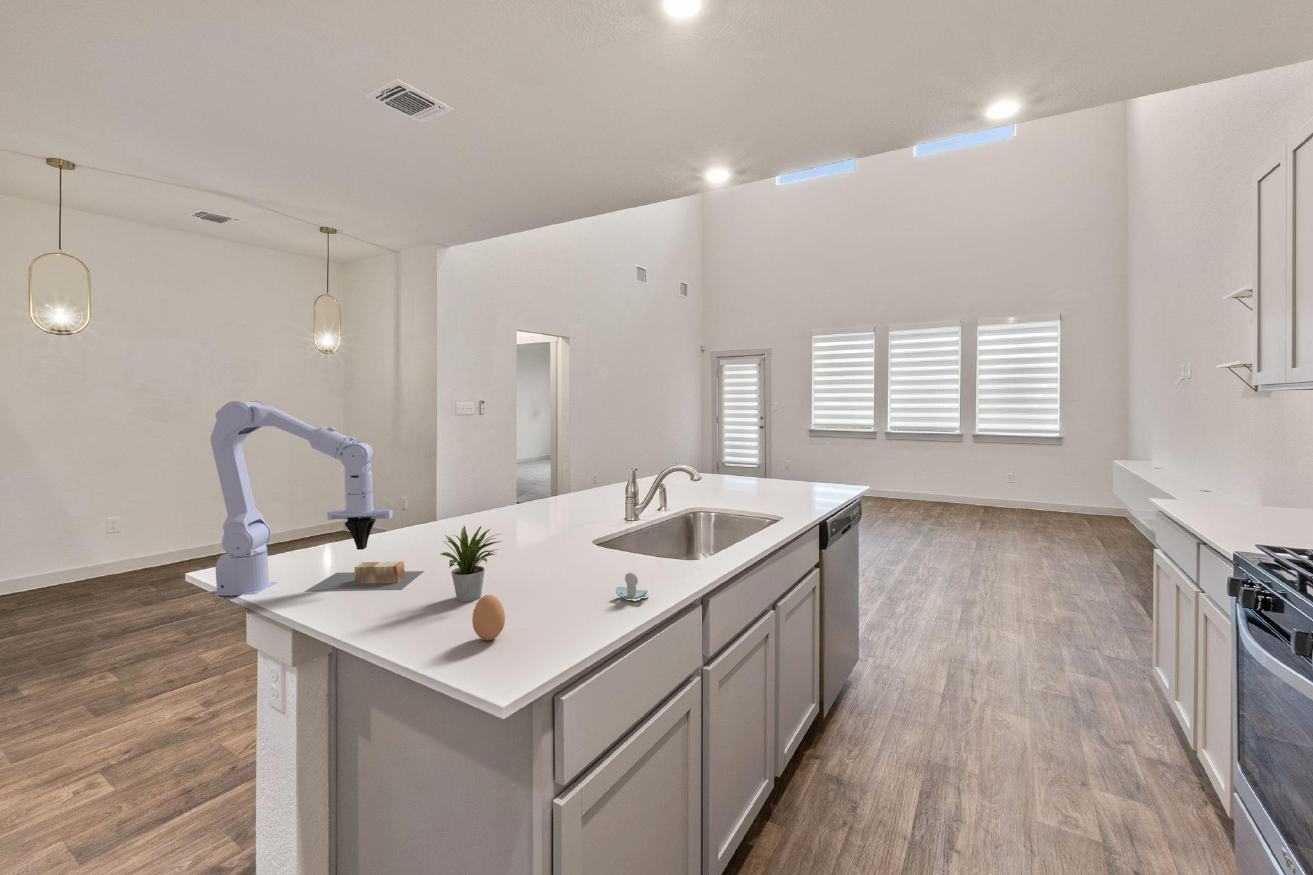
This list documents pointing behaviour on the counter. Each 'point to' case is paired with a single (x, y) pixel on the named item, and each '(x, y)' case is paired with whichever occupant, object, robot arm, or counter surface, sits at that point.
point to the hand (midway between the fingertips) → (361, 548)
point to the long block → (379, 572)
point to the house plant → (469, 565)
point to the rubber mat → (348, 583)
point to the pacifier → (631, 588)
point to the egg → (488, 617)
